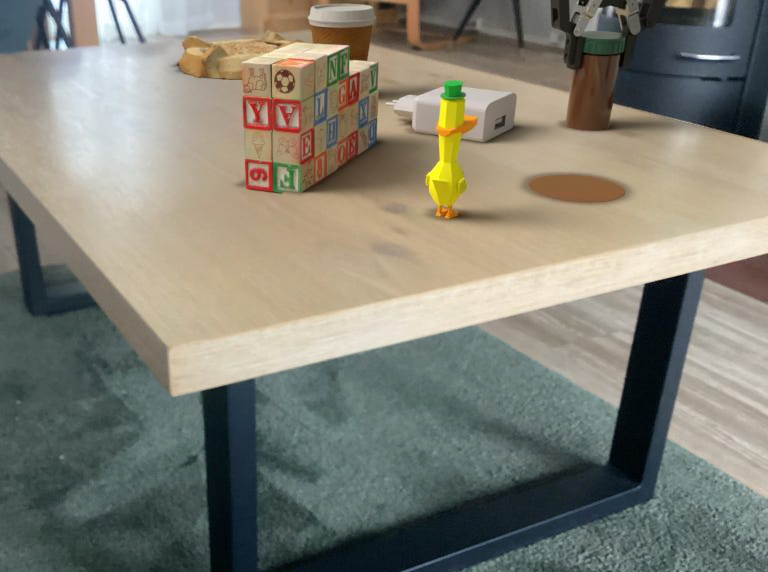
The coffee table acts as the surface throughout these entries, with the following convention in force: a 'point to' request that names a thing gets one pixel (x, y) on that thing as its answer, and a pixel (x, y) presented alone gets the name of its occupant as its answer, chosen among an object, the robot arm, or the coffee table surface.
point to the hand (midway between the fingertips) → (596, 67)
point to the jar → (593, 92)
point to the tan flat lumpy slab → (226, 54)
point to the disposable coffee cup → (343, 27)
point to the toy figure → (450, 149)
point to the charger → (484, 104)
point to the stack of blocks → (305, 114)
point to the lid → (603, 42)
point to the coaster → (576, 188)
